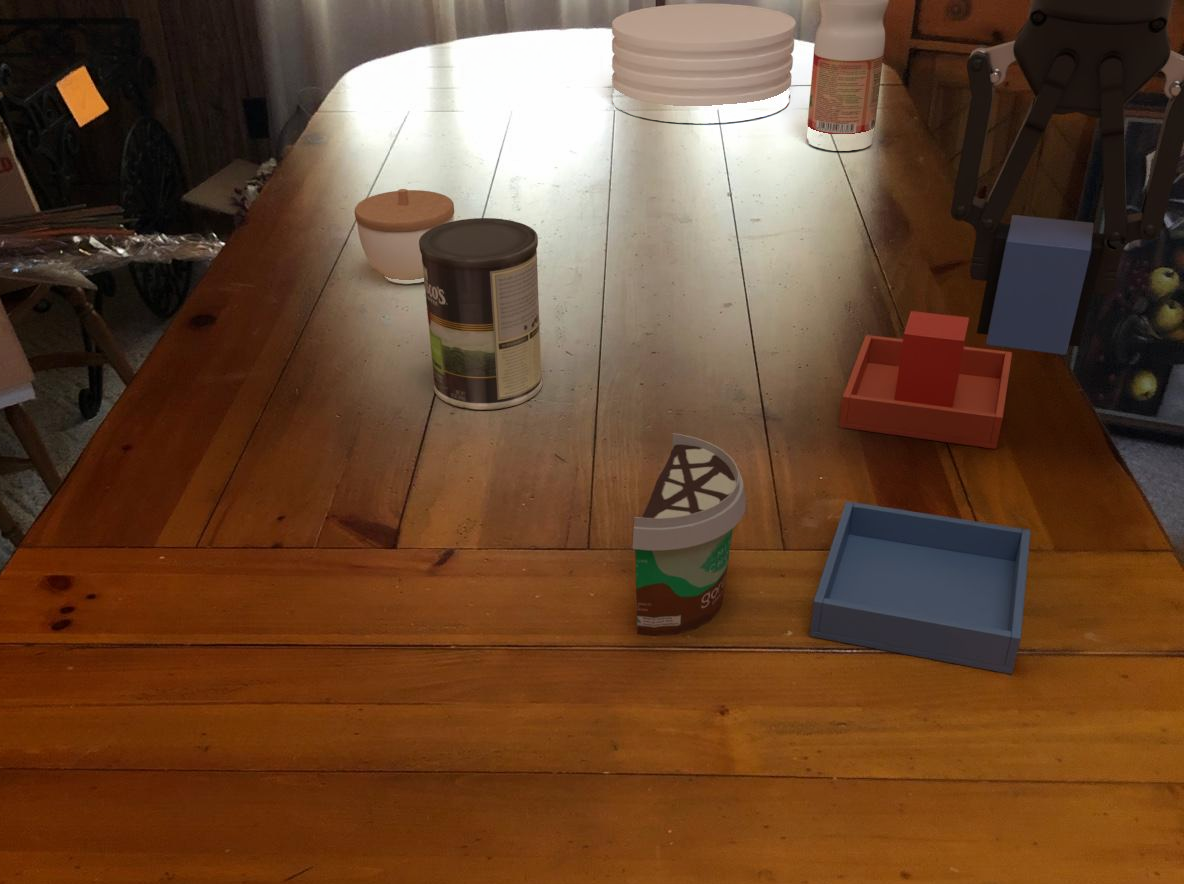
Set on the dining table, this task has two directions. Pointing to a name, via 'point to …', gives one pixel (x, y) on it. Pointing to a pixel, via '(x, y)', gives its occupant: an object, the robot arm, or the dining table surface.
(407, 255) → the trinket box
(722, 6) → the plate stack
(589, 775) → the dining table surface
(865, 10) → the fruit juice
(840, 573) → the blue tray
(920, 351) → the red block
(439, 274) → the coffee can
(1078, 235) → the blue block
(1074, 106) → the robot arm
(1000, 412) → the red tray
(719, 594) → the food container
